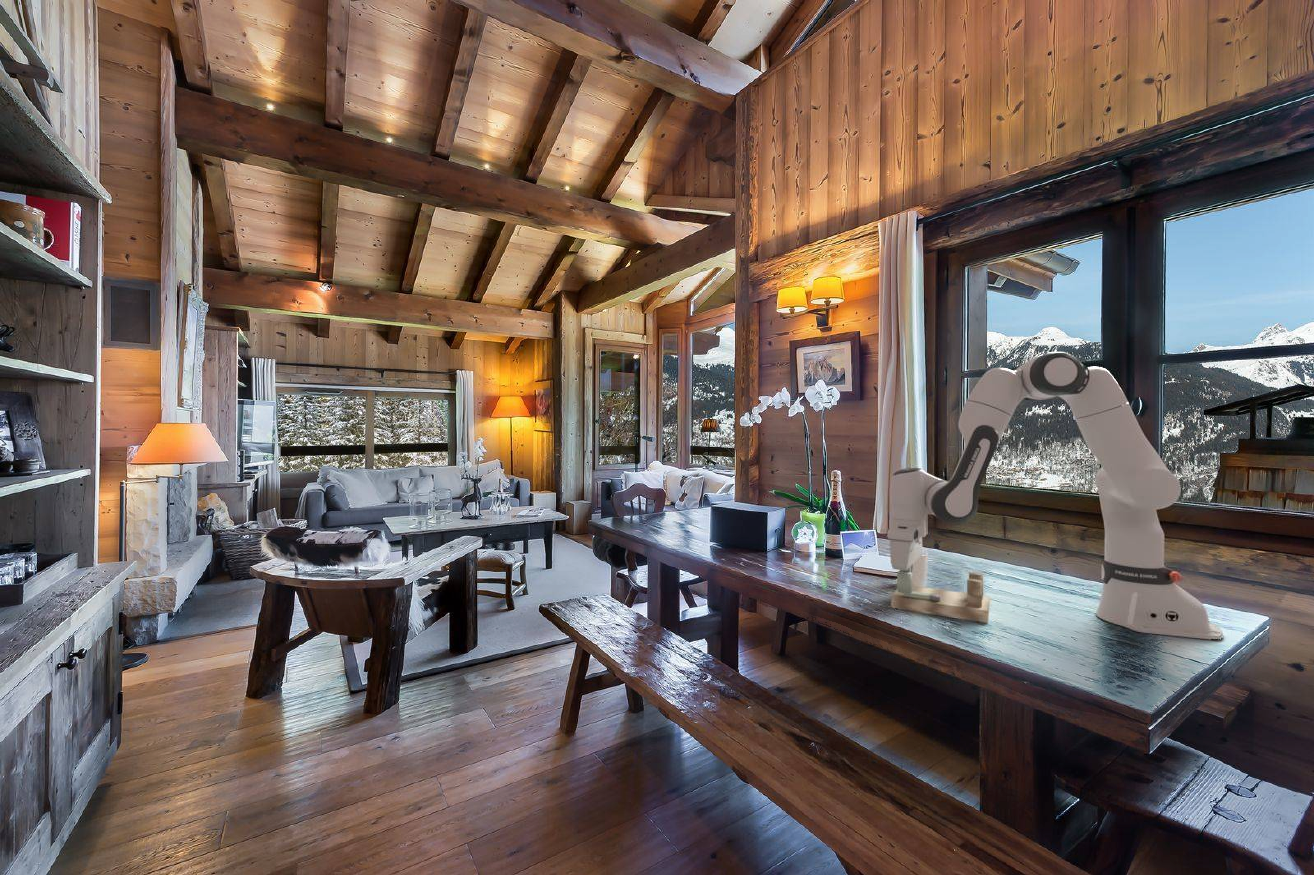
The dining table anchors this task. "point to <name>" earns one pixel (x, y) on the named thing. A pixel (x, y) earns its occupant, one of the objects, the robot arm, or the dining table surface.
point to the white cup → (920, 571)
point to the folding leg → (906, 587)
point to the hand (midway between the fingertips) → (907, 579)
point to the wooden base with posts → (949, 601)
